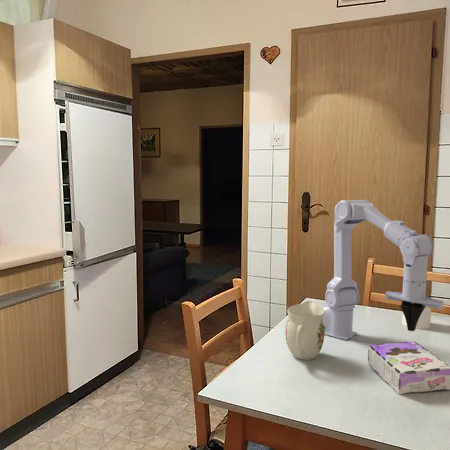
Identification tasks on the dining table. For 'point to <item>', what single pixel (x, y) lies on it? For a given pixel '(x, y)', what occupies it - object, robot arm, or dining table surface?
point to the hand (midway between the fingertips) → (411, 330)
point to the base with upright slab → (421, 319)
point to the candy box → (409, 367)
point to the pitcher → (305, 330)
